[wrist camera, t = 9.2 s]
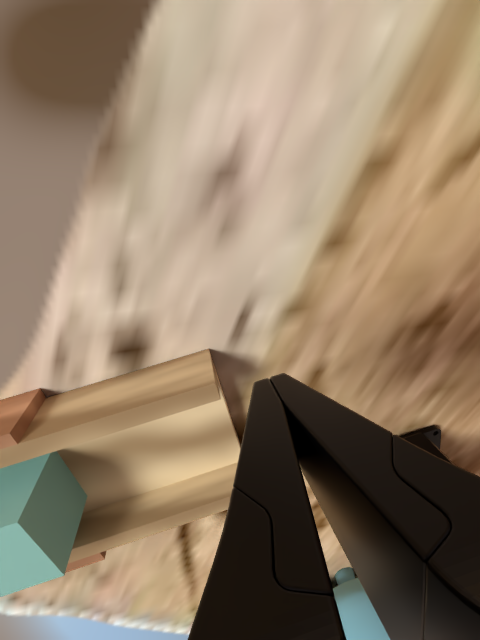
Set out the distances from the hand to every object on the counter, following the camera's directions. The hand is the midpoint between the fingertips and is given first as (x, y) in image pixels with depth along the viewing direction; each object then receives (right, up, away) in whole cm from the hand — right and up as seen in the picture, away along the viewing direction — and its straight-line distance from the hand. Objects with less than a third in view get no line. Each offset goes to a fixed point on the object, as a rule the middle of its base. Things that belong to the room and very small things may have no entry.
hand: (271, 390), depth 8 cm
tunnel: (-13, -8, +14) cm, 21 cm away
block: (-15, -9, +13) cm, 21 cm away
